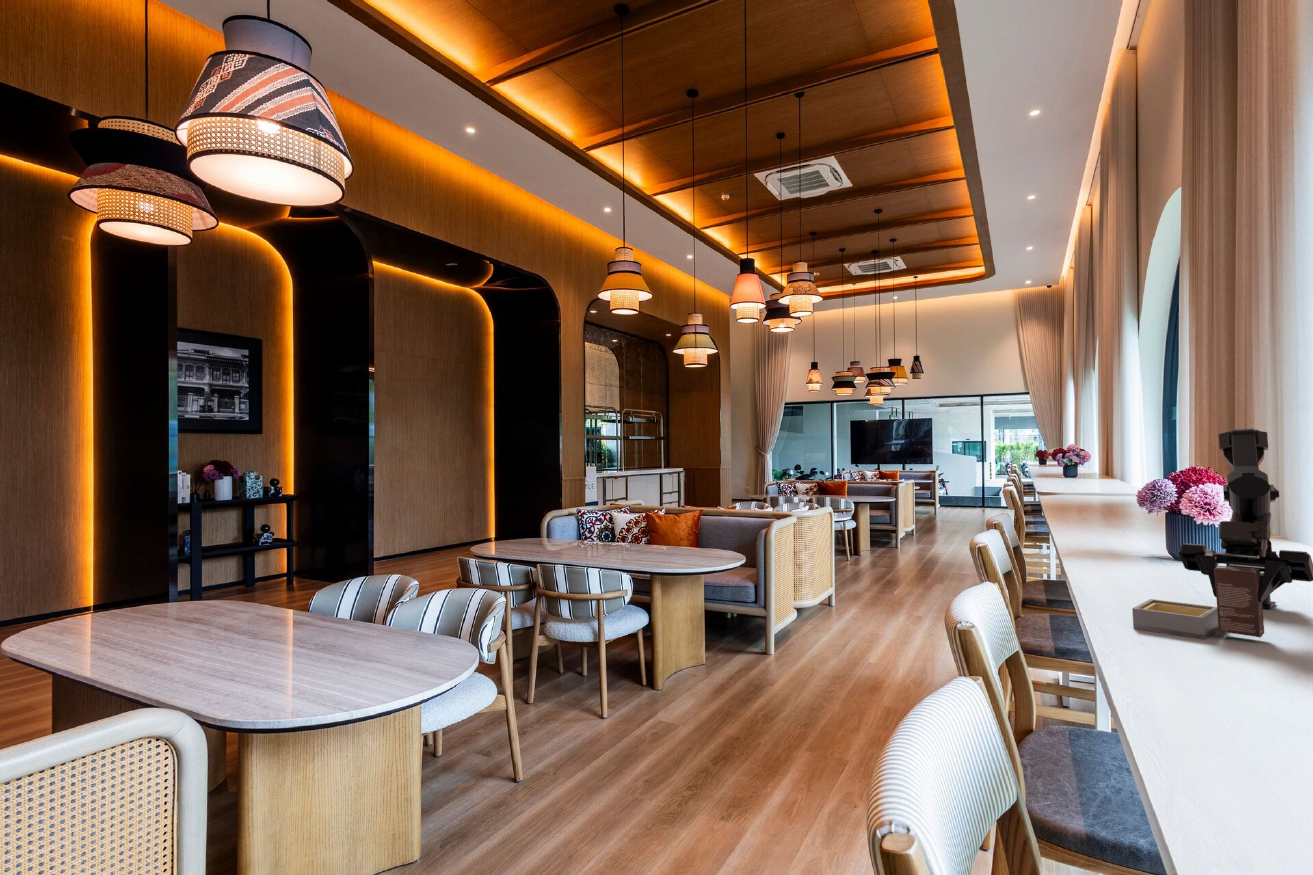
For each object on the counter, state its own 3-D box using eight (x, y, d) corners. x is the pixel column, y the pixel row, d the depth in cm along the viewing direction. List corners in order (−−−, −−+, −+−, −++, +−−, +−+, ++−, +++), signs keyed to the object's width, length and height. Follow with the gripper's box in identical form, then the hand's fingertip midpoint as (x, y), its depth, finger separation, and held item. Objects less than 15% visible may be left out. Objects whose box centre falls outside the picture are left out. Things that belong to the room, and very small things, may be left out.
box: (1265, 633, 122) (1261, 567, 122) (1260, 638, 119) (1256, 571, 119) (1222, 627, 126) (1218, 564, 127) (1216, 632, 124) (1213, 567, 124)
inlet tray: (1151, 618, 139) (1150, 598, 139) (1220, 627, 130) (1219, 607, 130) (1133, 628, 132) (1132, 608, 132) (1204, 639, 123) (1203, 617, 123)
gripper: (1178, 503, 133) (1163, 566, 126) (1307, 506, 118) (1298, 578, 111) (1192, 537, 137) (1179, 600, 131) (1318, 545, 123) (1310, 616, 116)
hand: (1237, 598), depth 122 cm, fingers closed on box, 6 cm apart
